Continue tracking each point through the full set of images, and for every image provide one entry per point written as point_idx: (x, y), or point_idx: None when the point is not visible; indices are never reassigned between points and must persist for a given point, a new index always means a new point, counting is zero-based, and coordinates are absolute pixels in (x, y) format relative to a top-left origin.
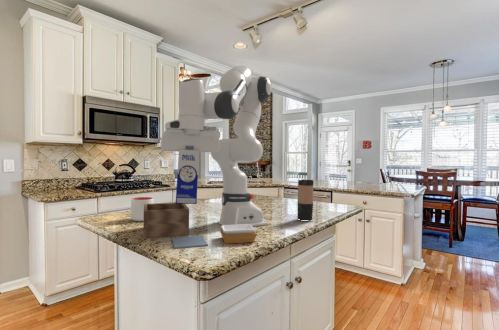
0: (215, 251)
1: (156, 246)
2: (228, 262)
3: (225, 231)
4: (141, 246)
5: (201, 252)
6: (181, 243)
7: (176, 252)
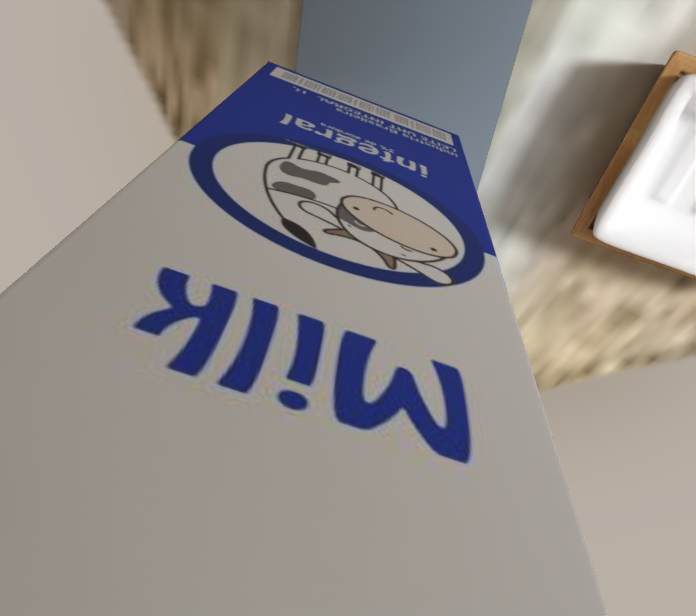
0: None
1: (197, 58)
2: None
3: (600, 240)
4: (112, 15)
5: None
6: None
7: None
